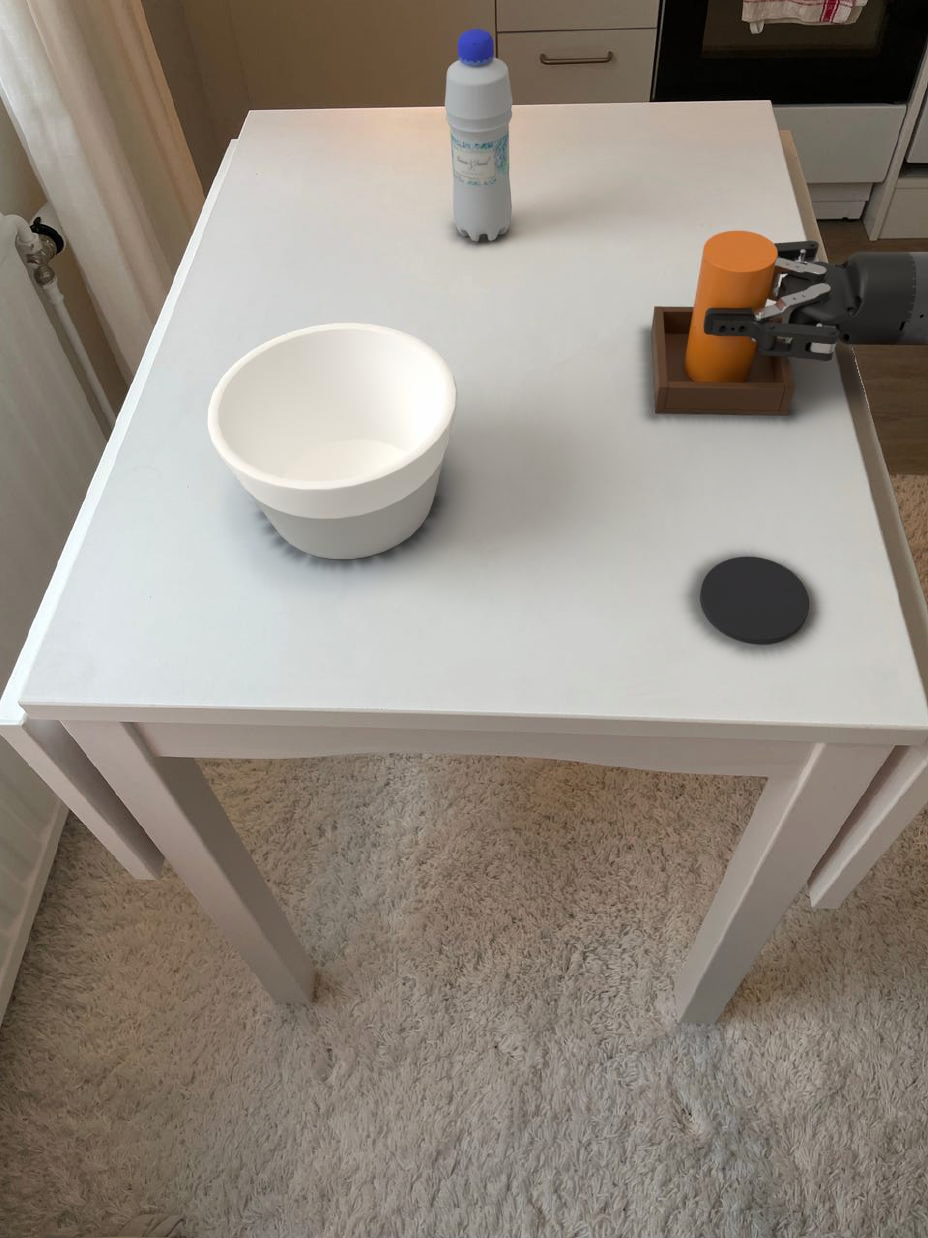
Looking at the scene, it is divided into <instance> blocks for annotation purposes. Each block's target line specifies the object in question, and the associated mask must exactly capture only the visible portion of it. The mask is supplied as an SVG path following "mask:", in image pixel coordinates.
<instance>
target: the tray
mask: <svg viewBox="0 0 928 1238" xmlns="http://www.w3.org/2000/svg"><path fill="white" fill-rule="evenodd" d="M693 308H694V306H663V305H661V306H660V305H659V306H658V305H655V306H654V308H653V315H652V322H651V329H650V338H651V339H650V340H651V354H652V355H651V357H652V375H653V378H652V379H653V392H654V393H653V396H654V398H653V399H654V413H656V414H697V415H749V416H750V415H752V416H753V415H755V416H756V415H757V416H788V413H789V410H790V407H791V403H792V400H793V396H794V392H795V385H794V378H793V373H792V368H791V367H792V366H791V361H790V358H789V357H778V356H768V355H762V354H760V353H759V351H758V349H759V345H758V343H757V345H756V349H755V353H754V357H753V362H752V366H751V370H750V374H749V376H748V378H747V379H746V380H745V381H744V382H743V383H742V382H694V381H693V380H692V379H690V378H689V376H688V375H687V374H686V372H685V369H684V363H685V357H686V351H687V345H688V339H689V333H690V327H691V321H692V314H693ZM772 320H773V319H772ZM772 320H770V321H771V322H772ZM775 343H785V344H787V340H786V338H784V339H778V338H776V342H775Z"/></svg>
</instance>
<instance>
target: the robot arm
mask: <svg viewBox="0 0 928 1238" xmlns="http://www.w3.org/2000/svg"><path fill="white" fill-rule="evenodd" d="M773 244H774V245H775V246H776V248H777V252H778V256H777V260H776V264H775V269H774V273H773V277H772V281H771V286H770V290H769V294H768V298H767V300H769V301H773V302H775V303H773V304H770V305H766V307H763V308H760V309H757V310H755V312H754V313H752V308H709V309H708V310H707V311H706V313H705V319H704V324H703V327H704V332H705V334H708V335H716V336H748V337H749V339H750V340H752V341H755V342H757V343H758V345H759V349H758V351H759V353H760V354H762V355H768V356H778V357H789V359H801V360H811V361H820V362H821V361H822V362H829V361H831V360H832V359H833V356H834V353H835V351H836V348H837V346H838V342H841V344H844V345H850V346H851V345H855V346H859V345H860V346H862V345H863V346H864V345H865V346H928V251H857V252H854V253H853V254H851V255H849V257H848V259H847V260H845V261H844V262H843V263H841V264H835V263H830V262H826V261H820V259H819V257H818V251H819V247H820V244H819V242H818V241H816V240H799V241H787V242H775V243H774V242H773ZM781 275H784V276H783V277H781ZM780 278H781V279H780ZM779 282H780V284H779ZM772 319H773V320H772ZM770 320H772V322H771V321H770ZM776 338H778V339H784V338H785V339H787V338H791V340H790V342H789V343H786V344H785V343H775V342H776Z"/></svg>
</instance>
